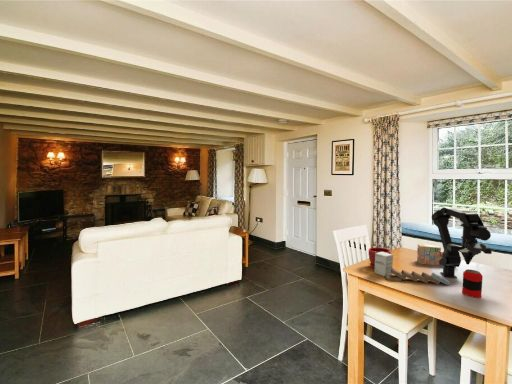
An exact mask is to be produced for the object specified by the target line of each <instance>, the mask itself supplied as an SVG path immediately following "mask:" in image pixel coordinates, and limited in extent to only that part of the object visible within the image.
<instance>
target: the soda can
mask: <svg viewBox="0 0 512 384" xmlns="http://www.w3.org/2000/svg"><path fill="white" fill-rule="evenodd" d="M462 274H463V275H462V288H461V292H462V294H463V295H465V296H467V297H470V298H476V299H477V298H478V299H479V298H481V297H482V291H483V290H482V289H483V274H482V273H481V272H480V271H478V270H476V269H465V270H463V273H462Z"/></svg>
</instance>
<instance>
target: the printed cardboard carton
mask: <svg viewBox="0 0 512 384" xmlns="http://www.w3.org/2000/svg"><path fill="white" fill-rule="evenodd" d="M416 250H417V251H416V252H417V253H416V254H417V255H416V261H417V262H418V264H421V265H422V264H424V265H432V266H442V265H440V264H439V260H440V259H441V258H443V257H442V254H443V251H444V249H442V248H441V246H439V245H435V244H434V245H433V244H425V243H424V244H423V243H422V244H421V243H418V244H417V249H416ZM442 267H443V266H442Z"/></svg>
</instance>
